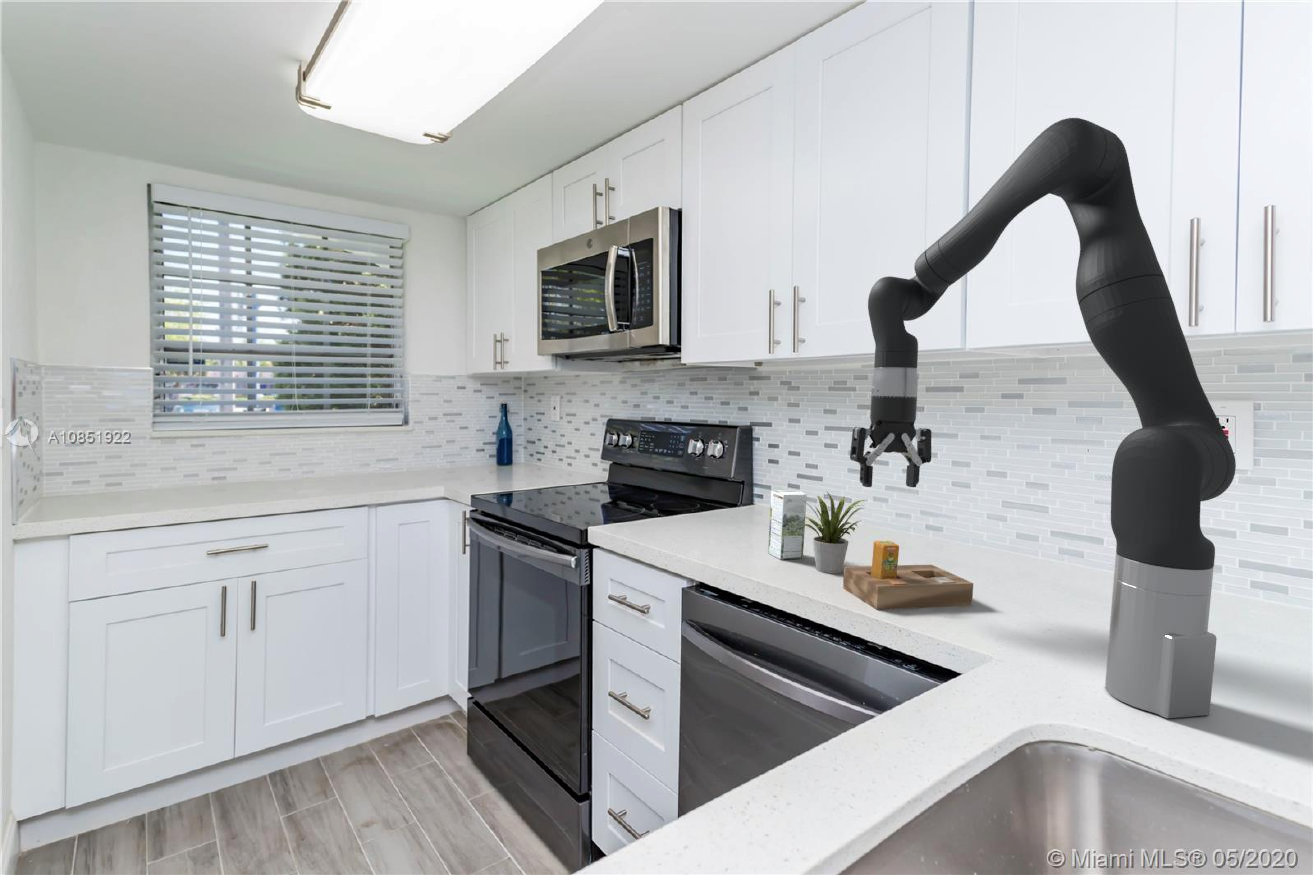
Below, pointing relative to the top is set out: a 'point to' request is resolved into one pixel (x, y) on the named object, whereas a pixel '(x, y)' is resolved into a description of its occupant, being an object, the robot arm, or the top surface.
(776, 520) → the syrup box
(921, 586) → the socket board
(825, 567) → the house plant
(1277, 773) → the top surface
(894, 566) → the supplement box
